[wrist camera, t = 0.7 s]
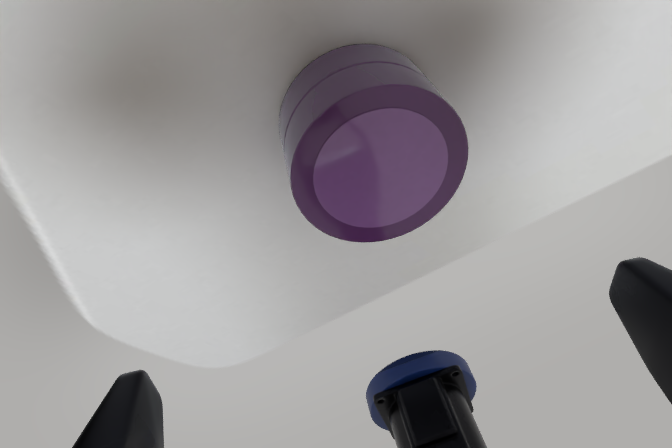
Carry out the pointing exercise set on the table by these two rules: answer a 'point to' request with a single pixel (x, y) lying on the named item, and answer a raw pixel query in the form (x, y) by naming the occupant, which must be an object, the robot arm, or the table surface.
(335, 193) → the top dish
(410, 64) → the bottom dish
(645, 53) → the table surface
